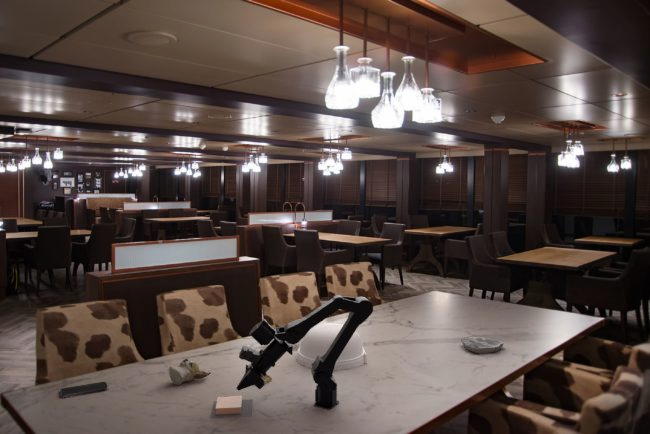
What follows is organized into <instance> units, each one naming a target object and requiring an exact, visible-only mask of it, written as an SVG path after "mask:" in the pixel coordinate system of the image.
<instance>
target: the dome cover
mask: <svg viewBox="0 0 650 434" xmlns="http://www.w3.org/2000/svg"><path fill="white" fill-rule="evenodd" d="M343 325H344V324H339V323H321V324H317V325H315V326H314V327H313V328H311V329H310V330H309V331H308V333H307V334H306V335H305V336H304V337H303V338H302V339H301V340H300V341H301V342H300V344H298V345H297V352H296V361H297V362H298V364H300V365H302V366H303V367H306V368H308V369H309V368H310V369H311V368H312V365H311V364H312V363H313V362H314V361H315V360H316V357H317V355H319V356H320V357H322V356H323V355H324V354H325V353H326V352H327V350H328V349H329V347H330V346H331V344H332V343H333V341H334V339H335V338H336V336H337V335H338V333H339V331H340V330H341V328H342V327H343ZM364 364H368V356H367V352H366V349H365V348H364V347H363V342H362V339H361V336H360V335H359V333H358V332H357V330H356V331H355V332H354V334H353V335H352V337H351V339H350V340H349V342H348V343H347V345H346V347H345V348H344V350H343V351H342V353H341V355H340V356H339V358H338V359H337V361H336V363H335V367H334V371H344V370H350V369H355V368H358V367H360V366H362V365H364Z"/></svg>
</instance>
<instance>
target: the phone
mask: <svg viewBox="0 0 650 434" xmlns="http://www.w3.org/2000/svg"><path fill="white" fill-rule="evenodd" d="M59 389H60V390H59V397H66V398H70V397H69V396H72V397H78V396H83V395H90V394H95V393H100V392H101V393H103V392H106V391H108V384H107V382H106V381H101V382H95V383H88V384H81V385H75V386H68V387H62V388H59Z"/></svg>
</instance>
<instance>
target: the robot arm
mask: <svg viewBox="0 0 650 434" xmlns="http://www.w3.org/2000/svg"><path fill="white" fill-rule="evenodd" d="M339 310H344V311H347V312H348V316H347V319H346V320H345V322H344V324H342V325H343V327H342V328H341V330H340V331H339V333H338V335H337V336H336V338H335V339H334V341H333V343H332V344H331V346H330V347H329V349H328V350H327V352H326V353H325V354H324V355H323V356H322V357H320V356H319V355H317V357H316V360H315V361H314V362H313V363H312V364H311V365H312V368H310V369H311V370H310V371H311V375H312V380H313V381H314V383H315V384H316V385H315V386H316V387H315V390H314V391H315V392H314V403H313V406H315V407H318V408H319V407H320V408H324V409H328V410H331V409H333V408H334V407H335V406H337V405H338V404H339V403H340V401H339V400H338V390H337V389H338V384H337V382H336V379H335V377H334V374H333V373H334V372H335V370H334V367H335V363H336V361H337V359H338V358H339V356H340V355H341V353H342V351H343V350H344V348H345V347H346V345H347V343H348V342H349V340H350V339H351V337H352V335H353V334H354V332H355V331H356V332H357V329H358V328H359V326H360V325H362V324H363V323H364V322H366V321H367V320H368V318H369V317H370V316H371V315H372V314H373V311H374V306H373V303H372V301H370V300H369V299H368V298H366V297H365V296H357V297H354V296H343V295H339V294H336V295H334V296H332V298H331V299H329V300H328V301H326V302H325V303H323V304H322V305H321V306H319V307H317V308H315V309H314V310H313V311H312V312H310V313H308V314H307V315H305V316H304V317H301V318H298V319H295V320H292V321H290V322H288V323H286V324H285V325H284V326H279V327H273V326H272V325H270V323H269V322H268V321H267V320H266V319H265V318H263V319H262V320H261V321H259V322H258V323H256V324H255V325H254V326H253V327H252V329H250V332H249V333H248V334H249V336H250V337H252V339H254V340H255V341H256V342H257V343H259V345H260V346H266V347H265V348H261V349H260V350H259V351H258V350H256V349H254V348H252V347H249V346H247V345H243V346H242V347H241V349H240V352H239V353H238V359H241V360H244V361H247V362H249V365H248V364H245V373H244V374H243V376H242V377H241V379H240V381H239V383H238V384H237V386H236V390H237V391H241V390H245V389H247V388H249V387H252V386H255V387H256V388H257V389H258V390H261V389H263V387H264V386H265V384H264V377H263V376H265V375H267V372H268V371H269V370H270V369H272V368H274V367H275V366H276V363H277V362H278V361H279V360H280V359H281V358H282V357H283V356H284V355H285V354H286V353H288V354H289V355H291V356H292V355H293V350H294V345H297V344H298V343H299V342H300V341H302V338H303V337H304V336H305V335H306V334H307V333H308V331H309V330H310V329H311V328H313V327H314V326H317V325H319V324H320V323H322V322H323V321H324V320H326V319H327V318H329V317H330V316H332V315H333V314H335V313H336V312H338V311H339ZM261 374H262V375H263V376H262V375H261Z"/></svg>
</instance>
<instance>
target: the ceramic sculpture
mask: <svg viewBox="0 0 650 434" xmlns="http://www.w3.org/2000/svg"><path fill="white" fill-rule="evenodd" d="M168 368H169V371H168V372H169V373H168V374H169V379H170V380H171V382H172V384H173V385H175V386H177V385H178V386H179V385H181V384H182V383H183V382H191V381H194V380H202V379H204V378H207V377H209V375H211V372H207V371H203V370H202V371H201V370H200V367H199V364H198V363H197V362H196V361H193V360H189V359H188V358H184V359H182V360H181V362H180V363H179V365H178V366H177V365H176V366H169V367H168Z"/></svg>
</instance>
